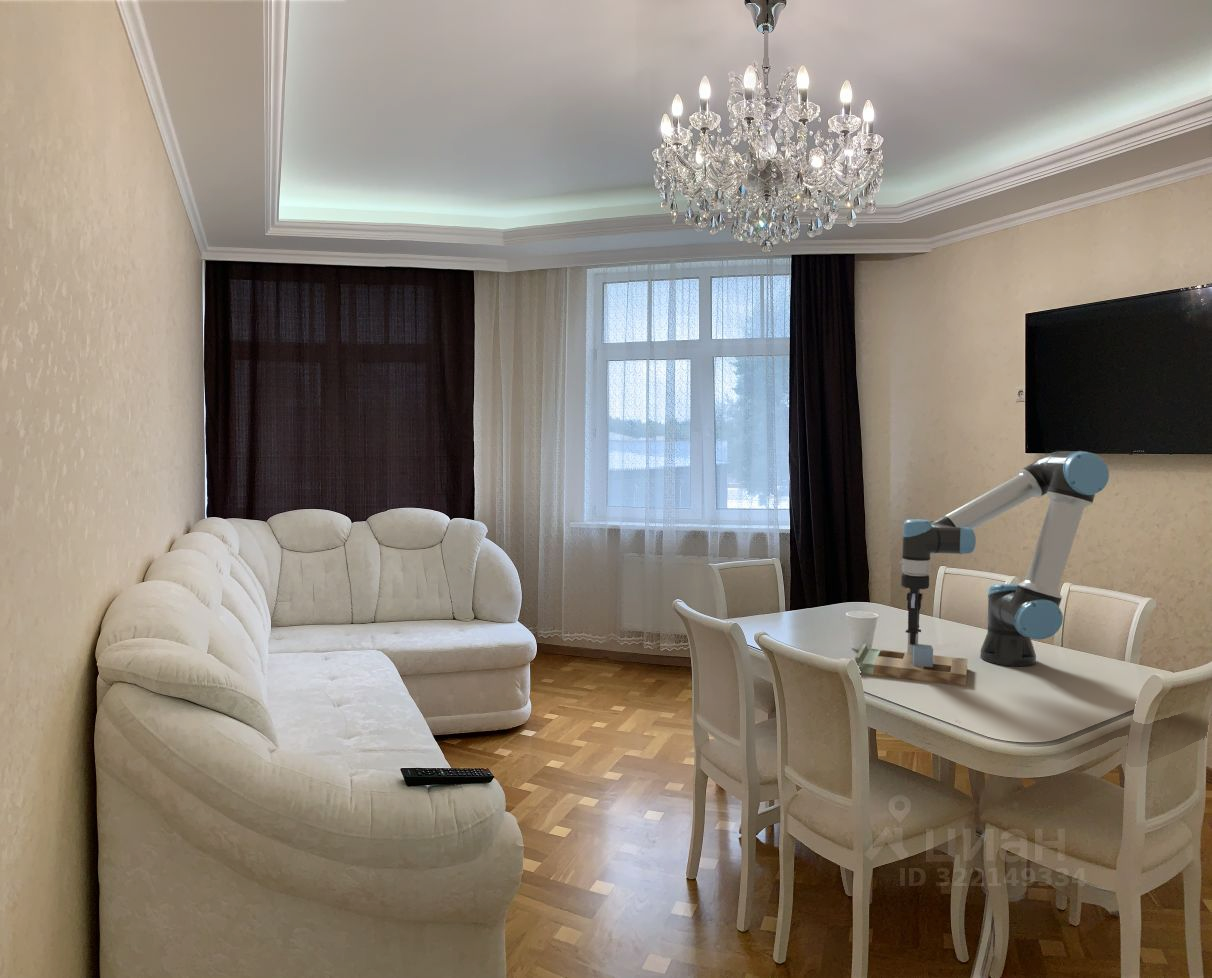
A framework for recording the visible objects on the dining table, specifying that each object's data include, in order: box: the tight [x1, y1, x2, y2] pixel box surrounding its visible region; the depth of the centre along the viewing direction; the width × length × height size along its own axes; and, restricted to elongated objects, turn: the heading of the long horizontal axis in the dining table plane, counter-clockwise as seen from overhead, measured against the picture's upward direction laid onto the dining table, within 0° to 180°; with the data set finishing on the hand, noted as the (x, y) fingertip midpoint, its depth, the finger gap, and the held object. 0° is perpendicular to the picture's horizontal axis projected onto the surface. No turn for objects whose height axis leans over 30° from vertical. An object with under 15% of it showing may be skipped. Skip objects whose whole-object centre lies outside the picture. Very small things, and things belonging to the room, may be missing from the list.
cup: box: [845, 610, 879, 651], centre depth 262 cm, size 10×10×11 cm
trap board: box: [854, 643, 968, 687], centre depth 237 cm, size 29×18×4 cm, turn 66°
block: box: [912, 643, 934, 667], centre depth 234 cm, size 5×5×5 cm
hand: (912, 654), depth 238 cm, fingers closed
